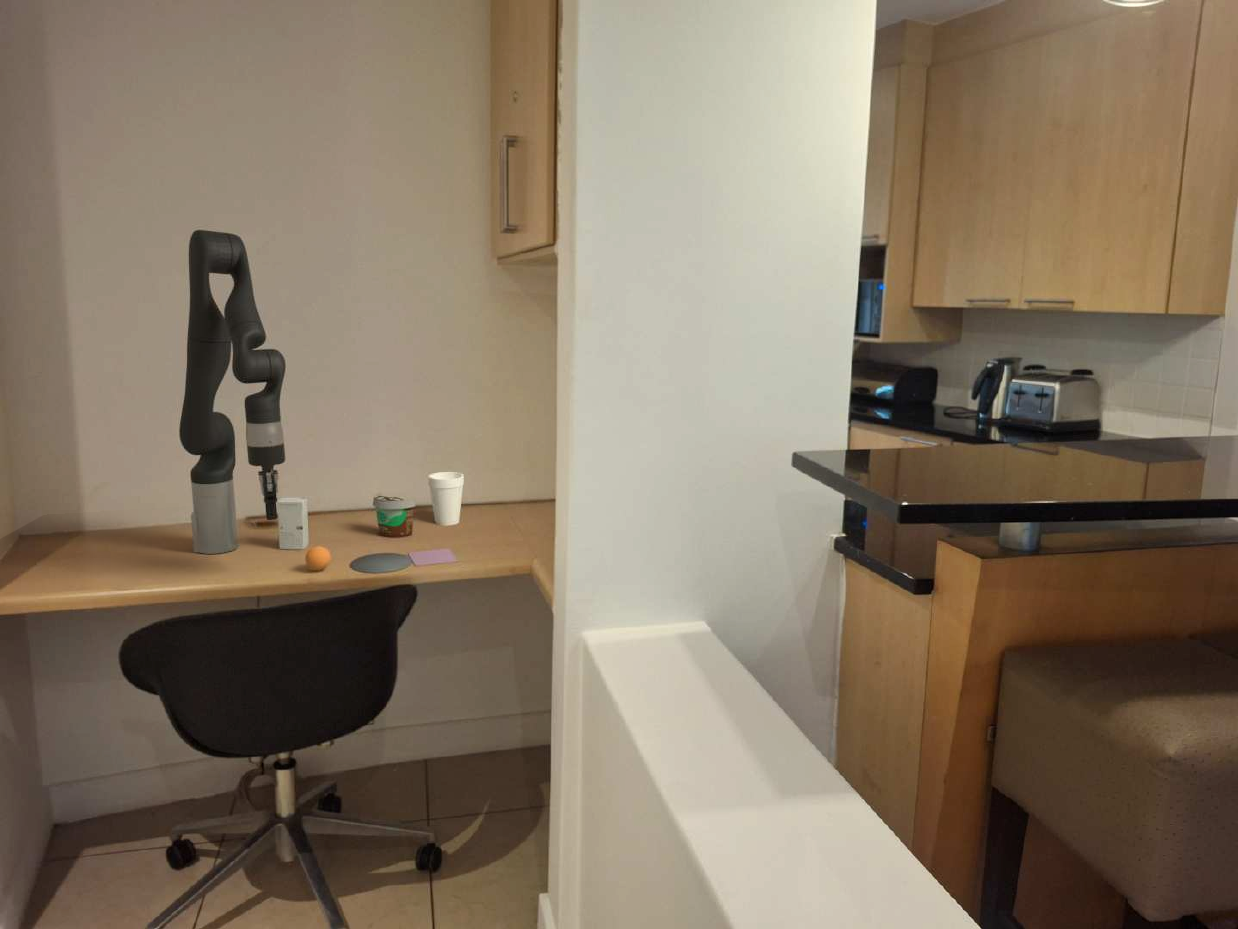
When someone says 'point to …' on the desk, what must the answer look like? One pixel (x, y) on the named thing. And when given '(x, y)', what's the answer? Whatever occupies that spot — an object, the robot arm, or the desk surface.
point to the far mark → (432, 557)
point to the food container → (394, 516)
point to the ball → (318, 558)
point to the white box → (293, 523)
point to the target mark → (381, 563)
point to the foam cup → (446, 496)
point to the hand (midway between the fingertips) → (271, 518)
